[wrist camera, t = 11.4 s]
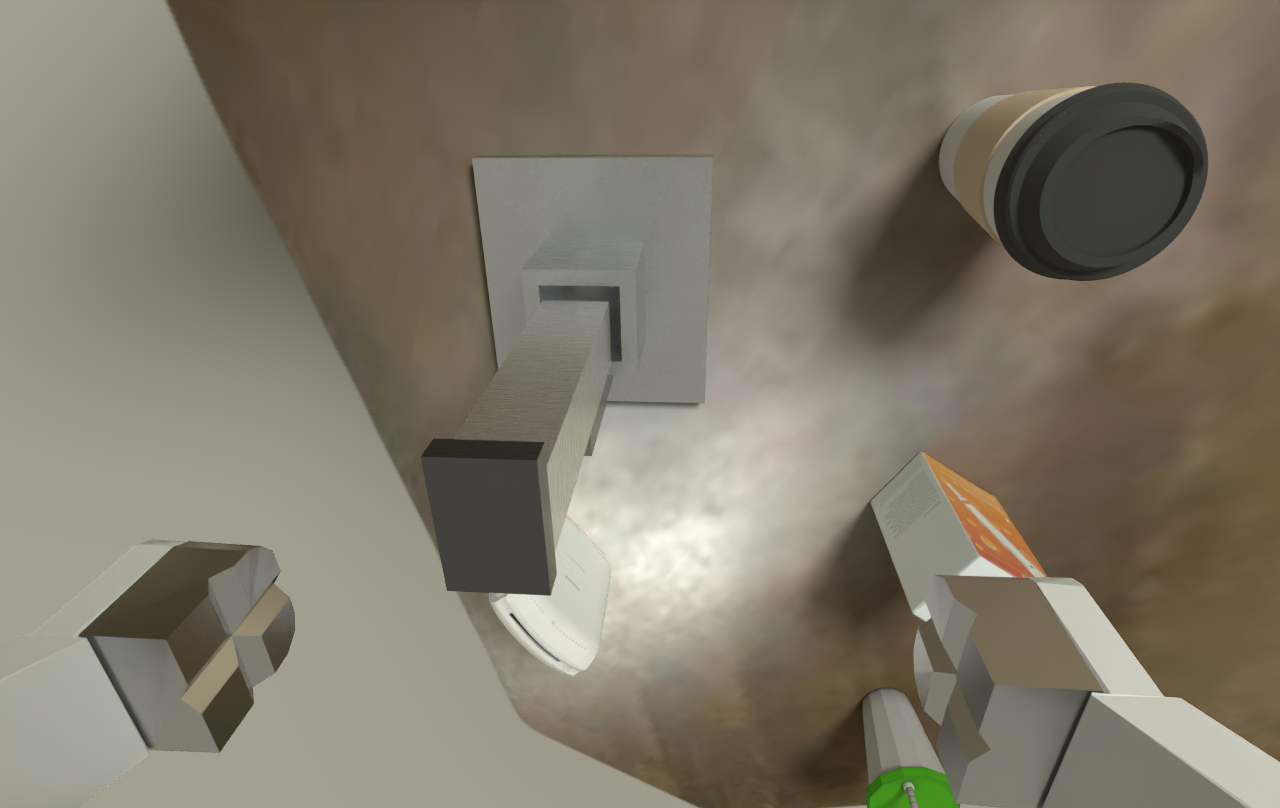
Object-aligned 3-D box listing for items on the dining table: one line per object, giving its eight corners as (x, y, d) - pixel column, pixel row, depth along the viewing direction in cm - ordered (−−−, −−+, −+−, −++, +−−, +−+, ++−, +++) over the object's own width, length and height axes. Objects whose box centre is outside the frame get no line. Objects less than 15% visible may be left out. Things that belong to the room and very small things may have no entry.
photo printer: (620, 566, 62) (602, 677, 51) (584, 586, 63) (559, 697, 52) (547, 490, 58) (512, 590, 47) (512, 512, 60) (469, 614, 49)
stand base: (477, 155, 46) (381, 199, 32) (712, 154, 44) (716, 199, 31) (505, 391, 54) (439, 505, 40) (704, 396, 53) (705, 516, 39)
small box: (996, 495, 55) (1074, 613, 43) (940, 545, 58) (1000, 668, 46) (920, 447, 53) (980, 555, 42) (867, 500, 56) (909, 615, 45)
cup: (908, 735, 69) (957, 898, 56) (834, 720, 69) (866, 879, 56) (938, 685, 65) (999, 845, 52) (860, 669, 65) (901, 826, 52)
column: (541, 284, 40) (420, 456, 23) (608, 284, 39) (536, 460, 22) (549, 375, 42) (447, 590, 25) (612, 377, 42) (550, 595, 25)
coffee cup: (974, 251, 46) (1084, 331, 33) (891, 155, 44) (973, 200, 30) (1099, 150, 42) (1278, 194, 29) (1016, 40, 40) (1170, 33, 27)
